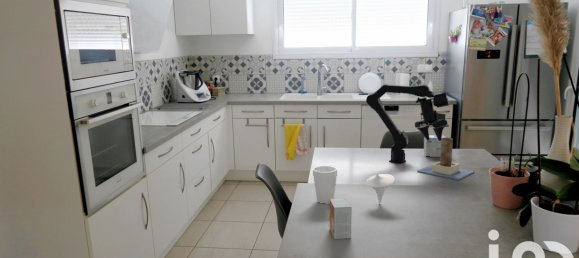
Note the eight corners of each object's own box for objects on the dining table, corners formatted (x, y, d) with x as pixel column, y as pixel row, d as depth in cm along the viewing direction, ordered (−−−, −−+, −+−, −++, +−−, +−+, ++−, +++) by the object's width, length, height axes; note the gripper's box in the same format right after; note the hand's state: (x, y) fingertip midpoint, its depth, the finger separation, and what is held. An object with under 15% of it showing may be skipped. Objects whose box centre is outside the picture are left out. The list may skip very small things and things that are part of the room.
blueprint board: (417, 171, 201) (417, 163, 200) (433, 165, 212) (434, 157, 211) (458, 180, 187) (459, 171, 186) (474, 172, 198) (474, 164, 197)
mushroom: (379, 210, 154) (380, 179, 152) (360, 202, 163) (360, 172, 161) (400, 204, 159) (401, 174, 157) (379, 197, 168) (380, 167, 166)
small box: (329, 229, 140) (329, 198, 138) (346, 228, 140) (346, 197, 138) (333, 239, 132) (333, 207, 130) (351, 238, 132) (351, 206, 130)
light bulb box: (443, 154, 233) (443, 134, 231) (446, 157, 227) (447, 137, 225) (423, 154, 234) (423, 135, 232) (425, 157, 228) (426, 137, 226)
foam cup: (339, 198, 168) (339, 166, 165) (334, 206, 159) (334, 173, 157) (316, 196, 171) (316, 165, 169) (310, 204, 162) (309, 171, 160)
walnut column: (440, 166, 197) (441, 139, 195) (439, 164, 202) (441, 137, 200) (451, 167, 196) (453, 139, 193) (451, 164, 200) (452, 137, 198)
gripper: (453, 105, 203) (460, 136, 205) (428, 106, 221) (435, 135, 222) (434, 110, 200) (441, 142, 201) (411, 111, 218) (417, 141, 219)
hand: (434, 140), depth 211 cm, fingers open, 9 cm apart
